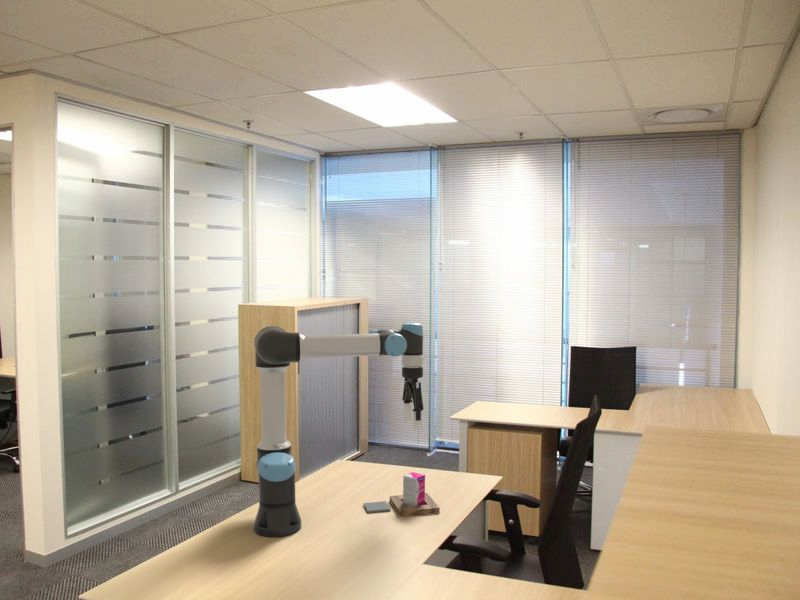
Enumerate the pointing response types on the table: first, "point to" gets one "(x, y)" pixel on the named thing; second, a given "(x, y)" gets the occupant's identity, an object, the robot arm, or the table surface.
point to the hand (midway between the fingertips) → (412, 425)
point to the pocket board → (414, 510)
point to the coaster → (376, 506)
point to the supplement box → (413, 489)
